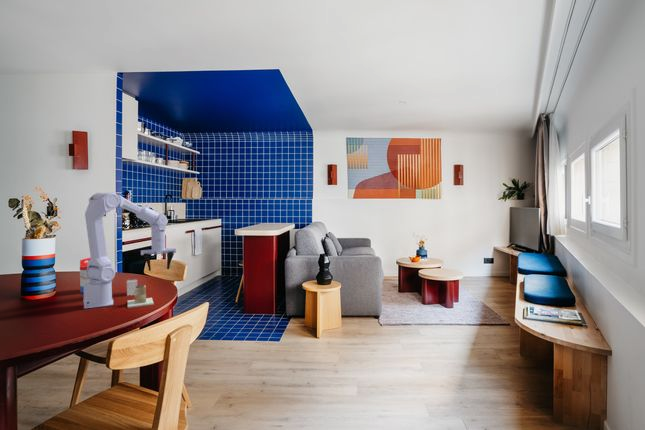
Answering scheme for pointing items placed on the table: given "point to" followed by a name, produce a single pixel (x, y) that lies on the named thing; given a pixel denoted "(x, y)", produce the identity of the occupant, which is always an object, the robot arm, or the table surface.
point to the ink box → (83, 274)
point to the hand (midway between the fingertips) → (159, 269)
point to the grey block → (131, 286)
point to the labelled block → (140, 294)
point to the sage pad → (132, 303)
